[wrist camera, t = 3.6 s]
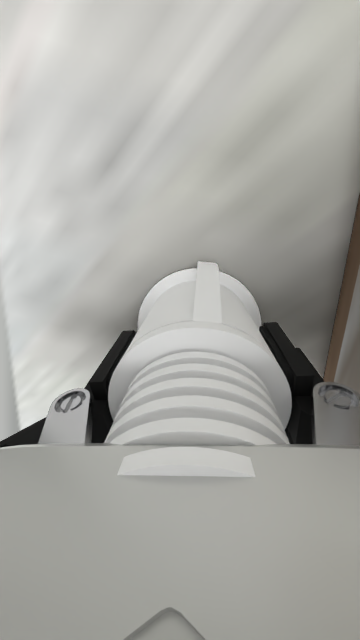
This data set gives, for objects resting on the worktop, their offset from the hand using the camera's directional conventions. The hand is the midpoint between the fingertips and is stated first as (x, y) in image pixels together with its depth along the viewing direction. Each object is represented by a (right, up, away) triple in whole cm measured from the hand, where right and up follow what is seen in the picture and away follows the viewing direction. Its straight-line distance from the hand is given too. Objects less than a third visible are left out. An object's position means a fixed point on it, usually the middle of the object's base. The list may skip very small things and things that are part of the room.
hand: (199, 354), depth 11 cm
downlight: (0, +1, +2) cm, 2 cm away
